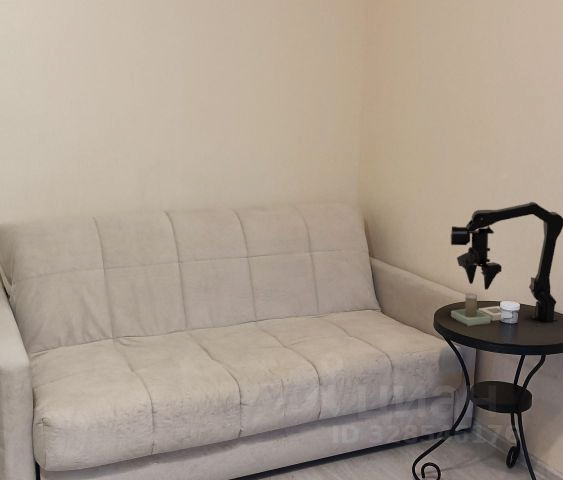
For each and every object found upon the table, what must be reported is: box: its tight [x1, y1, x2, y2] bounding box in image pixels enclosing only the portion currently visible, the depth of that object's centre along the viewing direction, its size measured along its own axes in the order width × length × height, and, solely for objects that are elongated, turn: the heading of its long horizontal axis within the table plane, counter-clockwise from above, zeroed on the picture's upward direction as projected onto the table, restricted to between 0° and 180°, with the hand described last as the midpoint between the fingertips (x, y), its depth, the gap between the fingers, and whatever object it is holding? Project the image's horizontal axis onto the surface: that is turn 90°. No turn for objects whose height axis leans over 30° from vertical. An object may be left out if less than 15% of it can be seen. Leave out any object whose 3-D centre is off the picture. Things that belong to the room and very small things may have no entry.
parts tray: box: [450, 308, 491, 327], centre depth 251 cm, size 11×9×2 cm
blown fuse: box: [464, 293, 478, 319], centre depth 250 cm, size 4×4×9 cm
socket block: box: [477, 305, 502, 322], centre depth 255 cm, size 9×9×2 cm
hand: (478, 286), depth 252 cm, fingers open, 9 cm apart
